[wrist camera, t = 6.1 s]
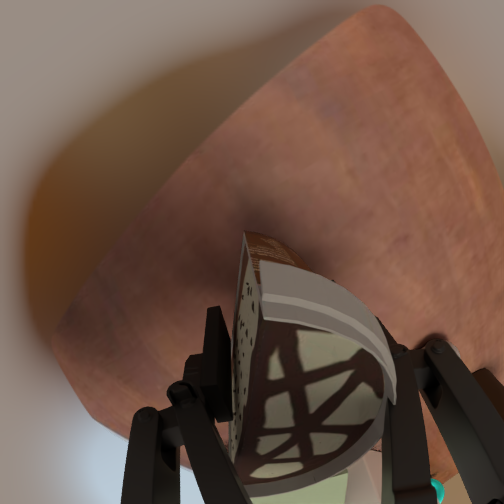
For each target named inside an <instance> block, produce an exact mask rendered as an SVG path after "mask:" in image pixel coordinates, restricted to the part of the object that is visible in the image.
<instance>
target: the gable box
mask: <svg viewBox="0 0 504 504" xmlns="http://www.w3.org/2000/svg"><path fill="white" fill-rule="evenodd" d="M347 470H348V480H347V488H346V496H345V503H344V504H381V492H382V452H377V451H373V450H370V451H368V452H367V453H366V454H365V455H364V456H363V457H362V458H361V459H359V460H358V461H357V462H355V463H354V464H353V465H351V466H350V467H348V468H347ZM437 504H440V503H439V500H438V498H437Z"/></svg>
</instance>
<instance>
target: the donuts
mask: <svg viewBox="0 0 504 504" xmlns="http://www.w3.org/2000/svg"><path fill="white" fill-rule="evenodd" d="M431 484H432V485H433V486H434V487H435V489H436V492H437V498H438V500H439V503H441V502H442V500H443V498H444V487H443V485H442V484H441V483H440V482H439V481H438V480H436V479H431Z"/></svg>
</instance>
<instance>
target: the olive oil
mask: <svg viewBox="0 0 504 504" xmlns="http://www.w3.org/2000/svg"><path fill="white" fill-rule="evenodd" d="M472 375H473V376H474V378H475V379H476V381H477V382H478V383H479V385H480V386H481V388H482V389H483V391H484V392H485V394H486V395H487V396H488V398H489V399H490V401H491V402H492V404H493V405H494V407H495V409H496V410H497V412H498V413H499V415H500V416H501V418H502V420H503V421H504V386H503V385H502V384H501V383H500V382H499V381H498V380H497V379H496V377H495V376H494V375H493V374H492V373H491V372H490V371H489V370H487V369H481V370H479V371H477V372H475V373H473V374H472Z"/></svg>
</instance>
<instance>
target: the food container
mask: <svg viewBox="0 0 504 504" xmlns="http://www.w3.org/2000/svg"><path fill="white" fill-rule="evenodd" d="M231 368H232V402H233V421H229V457H230V459H231V461H232V463H233V465H234V467H235V469H236V471H237V473H238V476H239V478H240V480H241V482H242V484H243V486H244V488H245V490H246V491H247V493H248V495H249V497H250V498H261V497H269V496H275V495H280V494H285V493H289V492H293V491H297V490H300V489H303V488H306V487H309V486H312V485H315V484H317V483H320V482H322V481H324V480H326V479H329V478H331V477H333V476H335V475H336V474H338V473H340V472H342V471H343V470H345V469H347V468H348V467H350V466H351V465H353V464H354V463H355V462H357V461H358V460H359V459H361V458H362V457H363V456H364V455H365V454H366V453H367V452H368V451H370V450H371V449H372V448H373V447H374V445H375V444H376V443H377V442H378V441H379V439H380V438H381V437H382V436H383V431H384V418H385V409H386V401H387V396H388V398H389V399H390V401H391V402H392V404H393V405H396V396H397V395H396V382H397V379H396V372H395V366H394V362H393V359H392V356H391V353H390V349H389V346H388V343H387V340H386V337H385V335H384V333H383V331H382V328H381V326H380V324H379V322H378V320H377V319H376V317H375V316H374V315H373V314H372V313H371V311H370V310H369V309H368V308H367V306H366V305H365V304H364V303H363V302H362V301H361V300H359V299H358V298H357V297H356V296H354V295H353V294H352V293H350V292H349V291H348V290H347V289H345V288H344V287H342V286H340V285H338V284H336V283H334V282H332V281H330V280H329V279H327V278H325V277H323V276H321V275H318V274H315V273H313V272H312V270H311V269H310V268H309V267H308V266H307V265H306V264H305V262H304V261H303V260H302V259H301V258H300V257H299V256H298V255H297V254H296V253H295V252H294V251H293V250H292V249H291V248H289V247H288V246H286V245H285V244H284V243H282V242H280V241H278V240H276V239H274V238H272V237H269V236H266V235H263V234H260V233H256V232H250V231H244V233H243V242H242V250H241V259H240V268H239V276H238V285H237V294H236V303H235V312H234V321H233V330H232V339H231Z"/></svg>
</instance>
